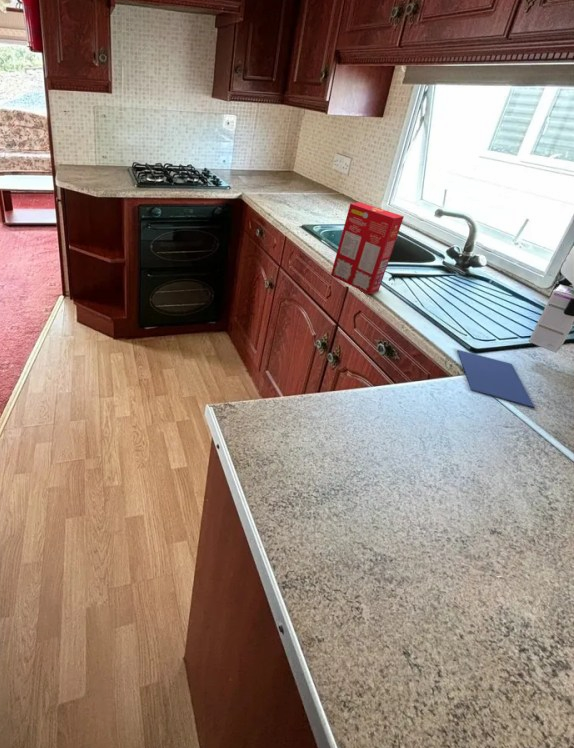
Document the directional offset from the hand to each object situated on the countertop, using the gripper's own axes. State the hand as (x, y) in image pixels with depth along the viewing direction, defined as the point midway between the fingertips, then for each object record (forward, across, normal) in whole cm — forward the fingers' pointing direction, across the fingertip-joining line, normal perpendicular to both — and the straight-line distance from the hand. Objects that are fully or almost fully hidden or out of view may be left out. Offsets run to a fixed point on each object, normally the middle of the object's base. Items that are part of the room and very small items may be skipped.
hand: (564, 306), depth 94 cm
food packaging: (+15, +23, +44) cm, 52 cm away
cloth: (+16, -12, +12) cm, 23 cm away
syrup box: (+11, 0, 0) cm, 11 cm away
